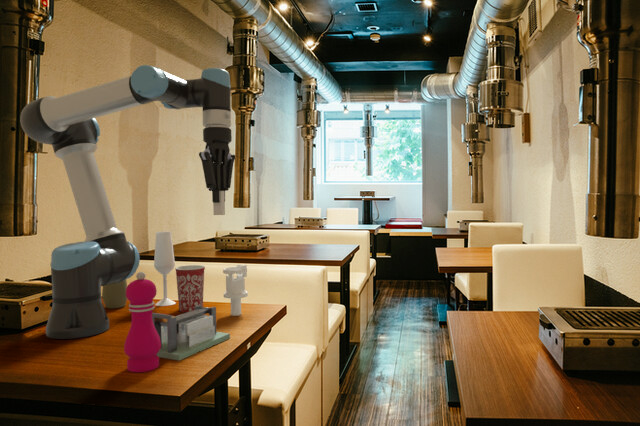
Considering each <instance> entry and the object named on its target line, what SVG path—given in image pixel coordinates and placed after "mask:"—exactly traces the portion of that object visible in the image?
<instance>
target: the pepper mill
mask: <svg viewBox="0 0 640 426" xmlns="http://www.w3.org/2000/svg"><path fill="white" fill-rule="evenodd" d="M135 276H136V279H134V280H132V281H131V282H130V283H129V284H127V288H126V297H127V301H129V304H128V307H129V308H128V311H129V312H130V315H131V323H130V328H129V331H128V333H127V336H126V338H125V341H124V346H123V347H124V348H123V349H124V350H123V351H124V354H125V355H126V356H127V357H128V359H127V360H126V363H127V365H126V367H127V371H128V372H131V373H145V372H146V373H147V372H149V371H150V372H151V371H153V370H156V369H157V368H159V366H160V357H158V356H157V355H156V354H157V353H158V352H159V350H160V349H161V340H160V337H159V335H158V333H157V331H156V329H155V326H154V324H153V319H152V313H153V311H154V309H155V307H156V306H155V301H153V300H154V299H155V297H156V296H157V293H158V292H157V291H158V289H157V287H156V284H155V283H154V282H153V281H152V280H150V279H146V274H145V272H144V271H139V272H137V273H136V275H135Z"/></svg>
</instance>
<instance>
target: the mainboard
mask: <svg viewBox="0 0 640 426" xmlns="http://www.w3.org/2000/svg"><path fill="white" fill-rule="evenodd" d="M230 338H231V333H230V332H229V333H228V332H221V331H216V334H215V338H214V339H211V340H209V341H207V342H204V343H202V344H199V345H197V346H195V347H192V348H190V349H189V348H183V347H177V350H176V351H174V352H171V353H169V352H168V345H164V344H162V348H161V349H160V350H159V352H158V353H157V354H156V355H157V356H158V357H159V358H163V359H167V360H173V361H182V360H184V359H185V358H186V359H187V358H188V357H191V356H193V355H196V354H197V352H198V353H200V352H202V351H204V350H207V349H209V348H211V347H213V345H214V346H216V345H217V344H221V343H223V342H225V341H228V340H230ZM206 348H207V349H206ZM199 351H200V352H199Z"/></svg>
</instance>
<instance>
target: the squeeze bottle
mask: <svg viewBox="0 0 640 426" xmlns="http://www.w3.org/2000/svg"><path fill="white" fill-rule="evenodd" d="M127 286H128V282H127V279H126V280H123V281H121V282H119V283H112V284H108V285H104V286H102V288H101V300H102V301H103V305H104V307H105V308H106V309H120V308H123V307H125V306H126V303H127V301H128V299H127V297H126V288H127Z"/></svg>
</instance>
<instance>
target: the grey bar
mask: <svg viewBox="0 0 640 426" xmlns="http://www.w3.org/2000/svg"><path fill="white" fill-rule="evenodd" d="M209 308H210V307H205V306H203V307H200V308H199V309H196V310H193V311H190V312H183V313H181V314H178V315H176V316H175V315H172V317H176V324H179V323H182V322H184V321H187V320H190V319H193V318H196V317H199V316H201V315H207V314H208V315H209ZM159 326H166V327H167V319H163V318H160V322H159Z"/></svg>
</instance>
